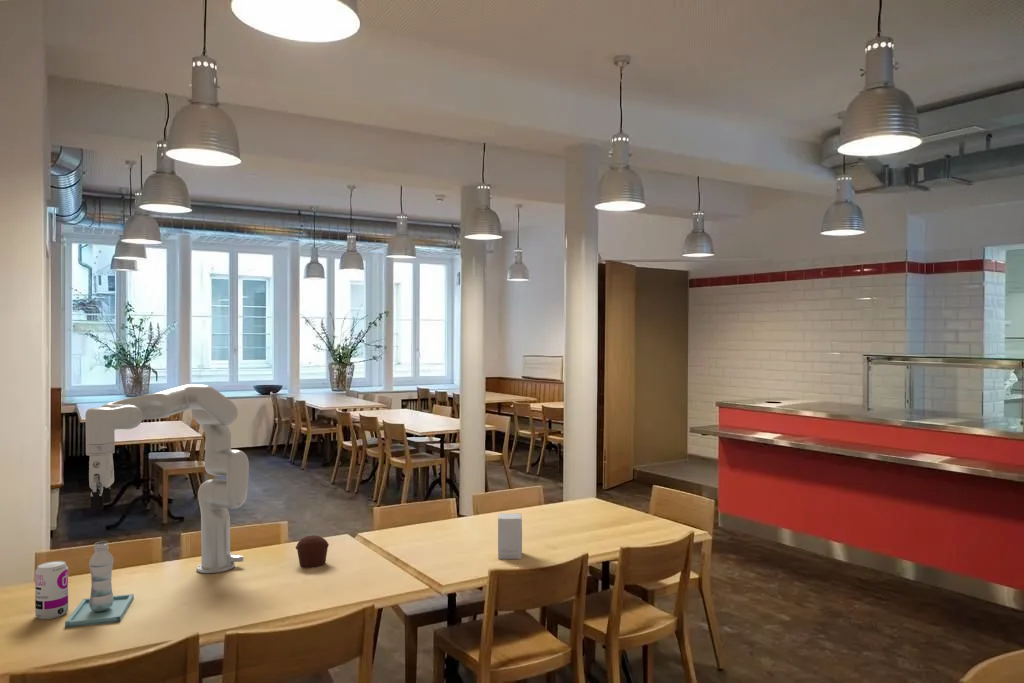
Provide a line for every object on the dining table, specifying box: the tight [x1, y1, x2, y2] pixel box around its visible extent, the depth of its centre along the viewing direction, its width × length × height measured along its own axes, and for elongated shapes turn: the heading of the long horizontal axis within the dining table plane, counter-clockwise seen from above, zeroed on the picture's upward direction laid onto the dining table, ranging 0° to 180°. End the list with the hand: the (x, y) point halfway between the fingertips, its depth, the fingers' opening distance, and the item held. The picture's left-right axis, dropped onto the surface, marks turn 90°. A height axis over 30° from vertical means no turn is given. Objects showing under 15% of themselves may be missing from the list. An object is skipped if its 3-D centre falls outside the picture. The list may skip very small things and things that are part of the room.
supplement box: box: [497, 512, 523, 560], centre depth 273 cm, size 9×9×15 cm
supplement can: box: [34, 560, 69, 620], centre depth 216 cm, size 8×8×15 cm
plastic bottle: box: [88, 541, 114, 612], centre depth 218 cm, size 6×7×20 cm
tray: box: [64, 593, 135, 629], centre depth 218 cm, size 14×20×2 cm
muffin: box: [295, 535, 330, 569], centre depth 264 cm, size 12×11×10 cm
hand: (101, 506), depth 218 cm, fingers open, 9 cm apart
